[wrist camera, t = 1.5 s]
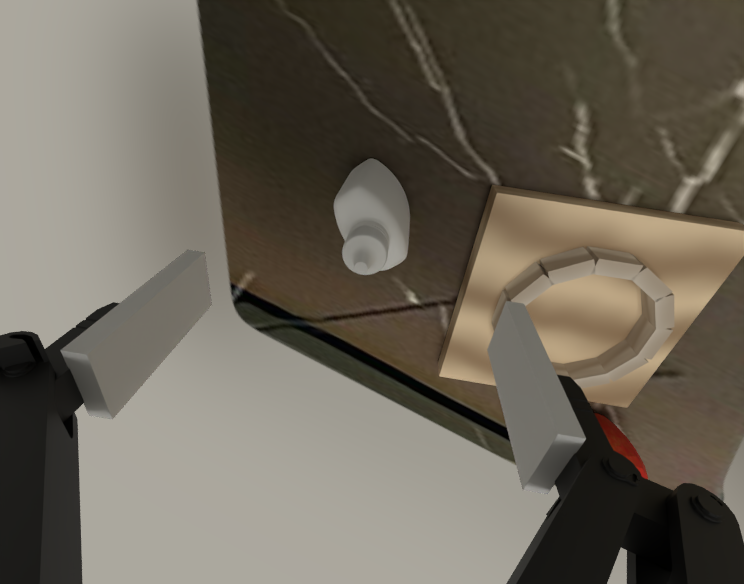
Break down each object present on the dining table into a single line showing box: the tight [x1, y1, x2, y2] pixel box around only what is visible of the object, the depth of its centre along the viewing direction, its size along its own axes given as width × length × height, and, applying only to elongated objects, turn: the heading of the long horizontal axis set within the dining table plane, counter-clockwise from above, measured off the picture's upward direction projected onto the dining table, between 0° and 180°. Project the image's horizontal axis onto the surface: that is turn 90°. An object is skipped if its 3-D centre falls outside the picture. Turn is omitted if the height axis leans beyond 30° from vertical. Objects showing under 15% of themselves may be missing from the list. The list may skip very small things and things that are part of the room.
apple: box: [594, 413, 648, 480], centre depth 36 cm, size 6×6×8 cm
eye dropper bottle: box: [334, 158, 410, 275], centre depth 23 cm, size 4×6×12 cm
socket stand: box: [438, 185, 744, 408], centre depth 30 cm, size 18×18×4 cm
